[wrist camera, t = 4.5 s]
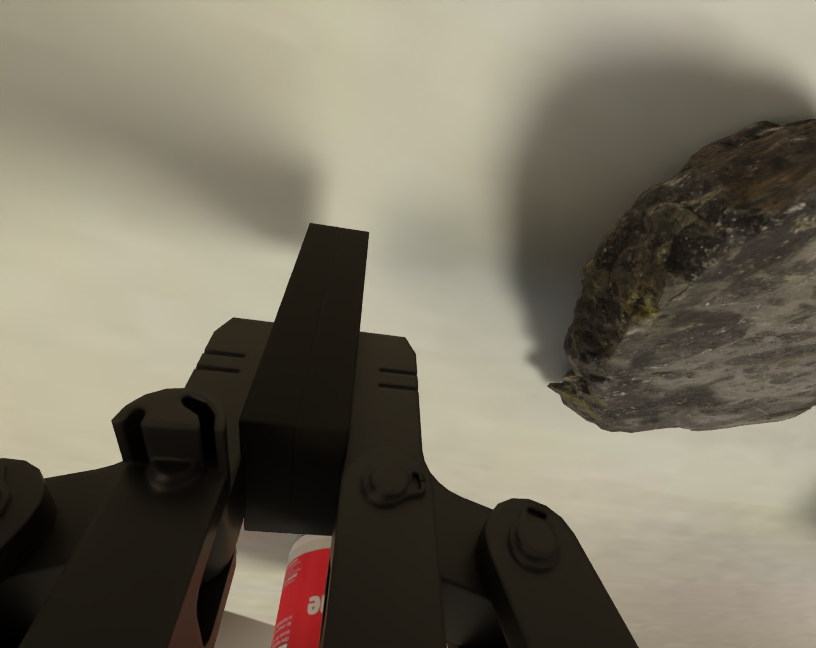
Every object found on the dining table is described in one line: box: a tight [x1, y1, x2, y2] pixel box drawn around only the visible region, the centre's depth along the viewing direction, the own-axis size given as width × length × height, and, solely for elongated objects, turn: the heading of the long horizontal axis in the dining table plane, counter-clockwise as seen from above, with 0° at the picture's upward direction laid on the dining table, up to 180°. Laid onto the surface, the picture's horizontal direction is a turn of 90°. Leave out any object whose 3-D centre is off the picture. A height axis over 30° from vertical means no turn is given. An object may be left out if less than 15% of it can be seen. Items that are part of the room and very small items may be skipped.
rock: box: [548, 118, 816, 433], centre depth 13 cm, size 9×11×6 cm
